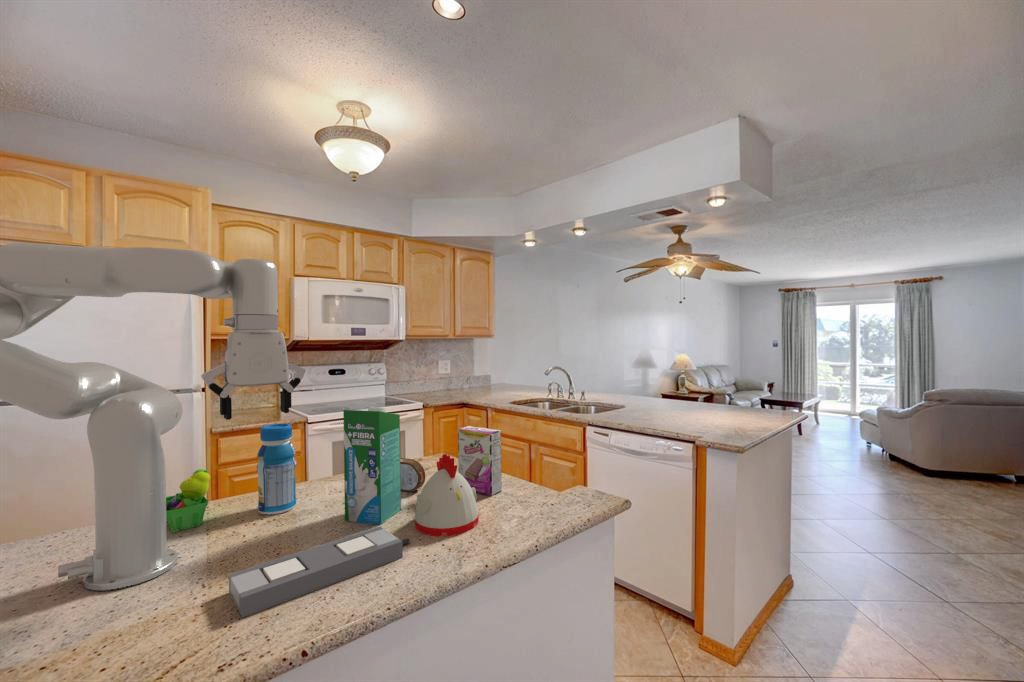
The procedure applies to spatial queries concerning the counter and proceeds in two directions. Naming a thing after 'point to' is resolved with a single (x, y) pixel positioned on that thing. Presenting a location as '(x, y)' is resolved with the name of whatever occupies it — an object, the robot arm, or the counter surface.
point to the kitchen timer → (446, 502)
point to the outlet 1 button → (282, 570)
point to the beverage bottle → (276, 470)
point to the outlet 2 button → (354, 546)
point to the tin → (411, 475)
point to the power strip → (311, 571)
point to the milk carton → (371, 465)
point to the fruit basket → (188, 502)
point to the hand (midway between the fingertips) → (257, 415)
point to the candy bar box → (480, 458)
